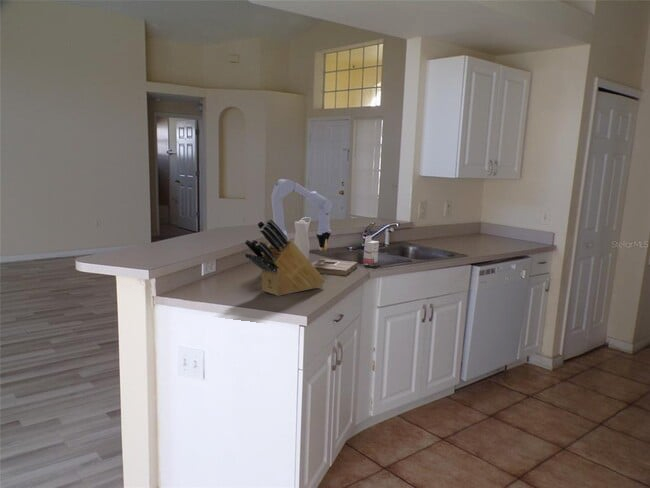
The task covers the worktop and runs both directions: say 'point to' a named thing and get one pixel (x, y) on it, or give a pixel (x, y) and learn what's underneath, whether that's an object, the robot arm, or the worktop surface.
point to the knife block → (282, 263)
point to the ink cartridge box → (370, 250)
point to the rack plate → (334, 266)
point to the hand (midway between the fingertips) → (323, 246)
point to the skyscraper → (302, 236)
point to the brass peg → (324, 246)
